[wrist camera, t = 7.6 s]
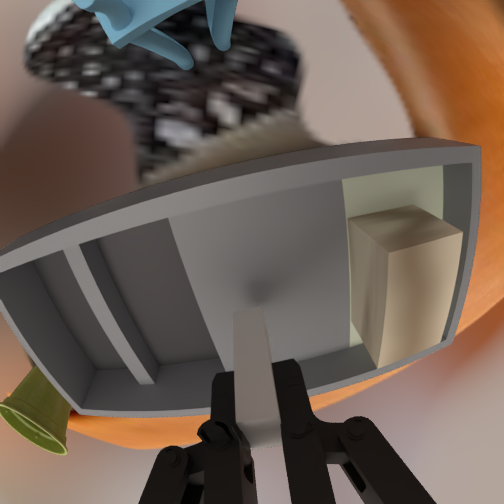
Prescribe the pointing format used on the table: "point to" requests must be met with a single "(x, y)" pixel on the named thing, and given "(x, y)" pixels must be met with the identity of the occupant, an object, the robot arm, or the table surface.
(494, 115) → the table surface
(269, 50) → the table surface
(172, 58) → the chair
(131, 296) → the tray
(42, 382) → the plant pot
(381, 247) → the birch block
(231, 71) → the table surface
